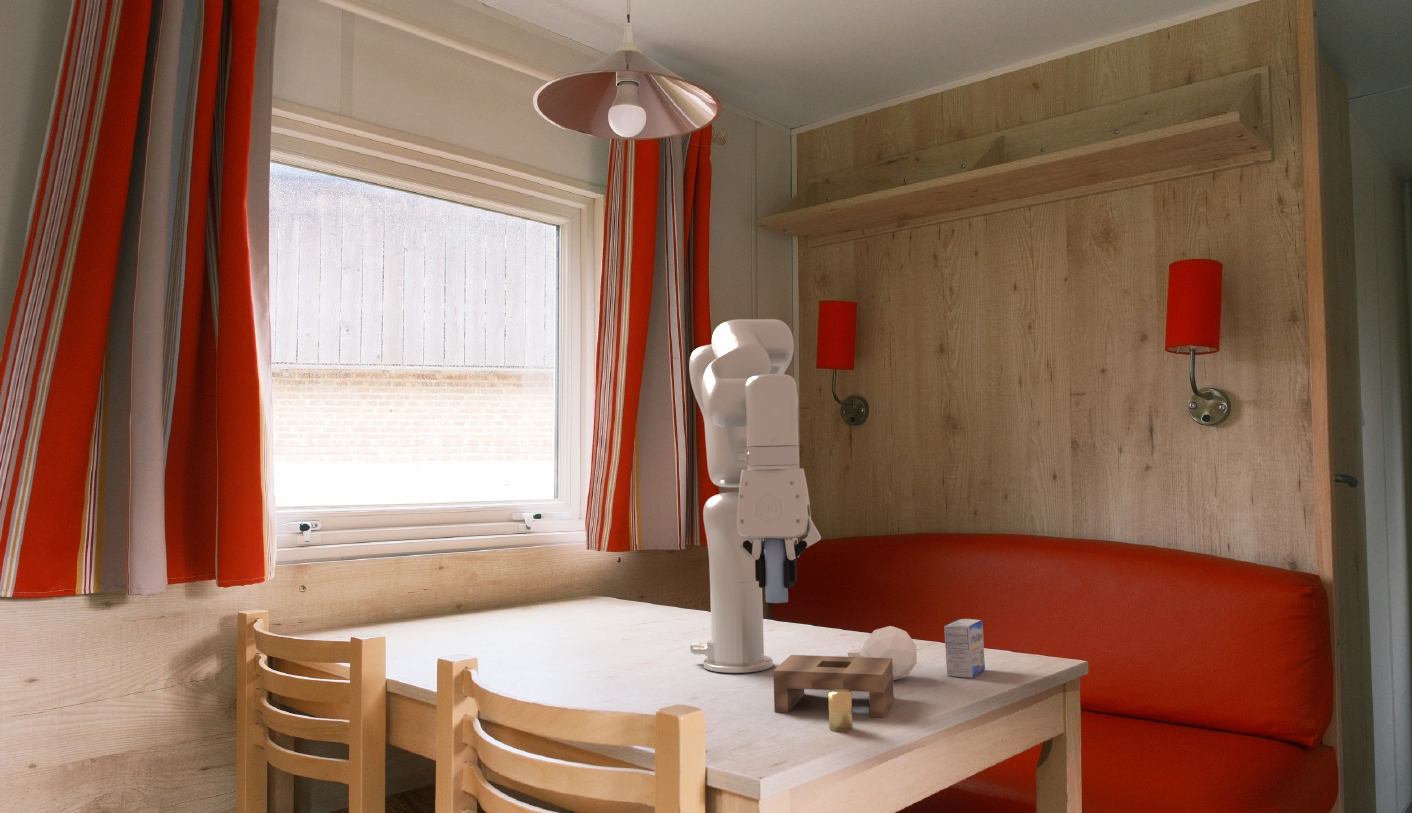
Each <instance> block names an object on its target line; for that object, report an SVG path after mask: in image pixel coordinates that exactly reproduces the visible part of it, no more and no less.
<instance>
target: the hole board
mask: <svg viewBox="0 0 1412 813" xmlns="http://www.w3.org/2000/svg"><path fill="white" fill-rule="evenodd" d="M772 673H773V675H772V676H773V704H774V706H773V708H774V713H789V712H790V711H791V709H792V708H794V707H795V705H797V703H798V702H799V701H800V699H802V697H803V696H804V695H805V690H813V691H814V690H816V691H817V690H818V691H819V690H820V691H829V690H834V689H845V690H850V691H851V692H859V693H860V692H863V693H868V697H869V698H868V699H869V717H870V718H880V719H881V718H882V719H883V718H885V717H886V715H887V713H888V710H889V709H890V707H891V704H892V702H893V700H894V697H895V696H894V695H895V694H894V691H895V690H894V680H893V665H892V658H869V657H849V656H840V655H839V656H837V655H836V656H833V655H832V656H831V655H830V656H829V655H804V654H803V655H801V654H790V655H789V656H788V657H787V658H785V660H783V661H782V662H781V663H780V664H778V666H777V667H775V668H774V669H773V671H772Z"/></svg>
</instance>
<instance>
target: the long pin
mask: <svg viewBox="0 0 1412 813" xmlns="http://www.w3.org/2000/svg"><path fill="white" fill-rule="evenodd" d="M764 555H765V587H764V588H765V590H764V591H765V602H766V603H769V604H780V603H781V604H783V603H788V602H789V588H786V587H784V561H785V560H786V555H787V552H786V544H785V538H765V539H764Z"/></svg>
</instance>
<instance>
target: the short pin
mask: <svg viewBox="0 0 1412 813" xmlns="http://www.w3.org/2000/svg"><path fill="white" fill-rule="evenodd" d="M852 692H853V691H850V690H845V689H834V690H827V696H828V697H827V701H828V702H827V703H828V706H827V708H828V728H829V731H830V732H834V733H848V732H852V731H853V729H854V727H853V726H854V725H853V720H854V719H853V698H852V697H853V696H852V695H853V694H852Z"/></svg>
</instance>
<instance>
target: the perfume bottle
mask: <svg viewBox="0 0 1412 813" xmlns="http://www.w3.org/2000/svg"><path fill="white" fill-rule="evenodd" d="M917 648H918V647H917V645H916V643H915V641H914V640H913V638H912V637H911V636H910V635H909V634H908V632H907V631H906V630H903V629H902V628H898V627H895V626H891V625H889V626H885V627H881V628H877V629H874V630H873V631H872V632H871V634H870V635H869V637H868V638H867V639H866V641H865V642H864V643H863V646H852V648H850V650H849V651H847V655H848V656H847V657H869V658H892V665H893V681H895V680H900V679H903V678H907V677H908V676H909V674H910V673H911V671H912V670H913V669H914V667H916V665H917V663H918V659H917V658H918V657H917V650H918V649H917Z"/></svg>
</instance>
